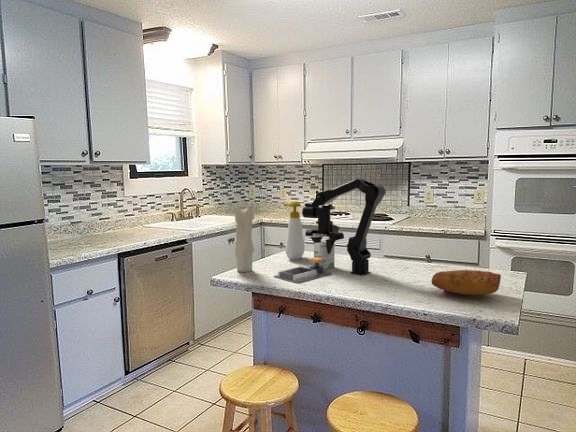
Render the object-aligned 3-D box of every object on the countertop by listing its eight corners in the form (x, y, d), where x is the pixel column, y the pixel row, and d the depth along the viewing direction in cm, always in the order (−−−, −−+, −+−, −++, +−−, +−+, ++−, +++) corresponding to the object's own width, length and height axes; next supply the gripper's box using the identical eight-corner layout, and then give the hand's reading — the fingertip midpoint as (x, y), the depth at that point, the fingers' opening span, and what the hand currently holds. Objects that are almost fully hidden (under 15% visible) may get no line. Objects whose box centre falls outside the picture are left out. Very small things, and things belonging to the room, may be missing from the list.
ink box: (328, 265, 196) (328, 240, 195) (334, 267, 192) (334, 242, 191) (313, 267, 192) (313, 242, 191) (319, 269, 188) (319, 243, 186)
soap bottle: (291, 255, 220) (290, 200, 217) (308, 257, 215) (308, 200, 212) (278, 260, 209) (277, 202, 206) (296, 262, 204) (295, 202, 201)
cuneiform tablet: (503, 293, 150) (504, 271, 149) (494, 305, 136) (495, 281, 136) (440, 283, 163) (441, 263, 162) (426, 294, 149) (427, 272, 148)
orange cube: (323, 266, 184) (323, 258, 183) (317, 268, 181) (317, 260, 180) (316, 265, 187) (316, 257, 186) (309, 266, 184) (309, 258, 183)
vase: (258, 270, 189) (256, 203, 186) (245, 274, 182) (244, 205, 179) (243, 267, 194) (241, 203, 190) (230, 271, 187) (229, 204, 183)
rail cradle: (332, 273, 180) (332, 267, 180) (297, 283, 166) (297, 276, 166) (308, 268, 190) (308, 263, 190) (274, 277, 176) (273, 271, 176)
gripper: (351, 219, 189) (351, 253, 190) (320, 216, 202) (320, 248, 204) (335, 221, 181) (335, 256, 183) (304, 218, 194) (304, 251, 196)
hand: (324, 252), depth 191 cm, fingers closed on ink box, 5 cm apart
